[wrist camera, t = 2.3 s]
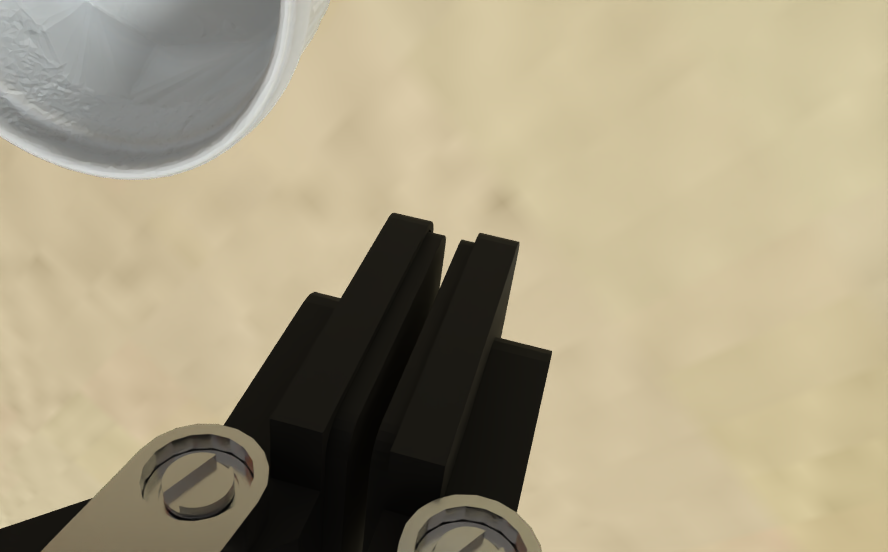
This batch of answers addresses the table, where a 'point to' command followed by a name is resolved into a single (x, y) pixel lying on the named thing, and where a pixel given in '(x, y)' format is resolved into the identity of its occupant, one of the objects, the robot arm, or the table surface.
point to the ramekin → (144, 78)
